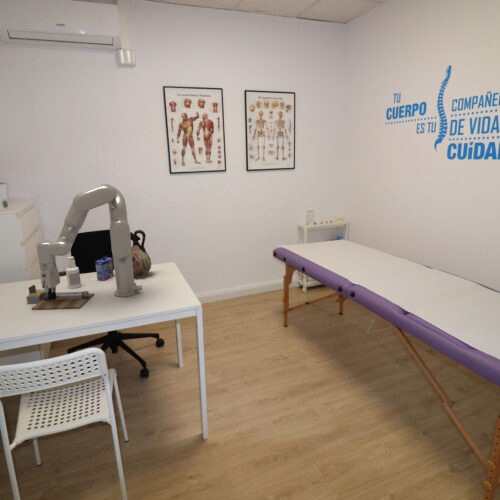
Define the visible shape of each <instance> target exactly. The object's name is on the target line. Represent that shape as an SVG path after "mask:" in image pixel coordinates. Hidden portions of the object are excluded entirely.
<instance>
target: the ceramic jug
mask: <svg viewBox="0 0 500 500" xmlns="http://www.w3.org/2000/svg"><path fill="white" fill-rule="evenodd" d="M138 234H140V235H142V239H141V237H140V236H139V235H138ZM130 238H131V242H132V244H131V256H132V264H133V274H134V279H136V278H137V279H139V278H140V277H141V278H145V277H146V276H148V275H149V274H148V273H149V271H150V270H151V268H152V260H151V257H150V255H149V253H148V252H147V250H146V248H145V241H146V233H145V231H144V230H141V229H137V230H134V232H133V231H130ZM139 241H141V243H140V242H139ZM144 276H145V277H144Z"/></svg>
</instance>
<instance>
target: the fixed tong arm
mask: <svg viewBox="0 0 500 500" xmlns="http://www.w3.org/2000/svg"><path fill="white" fill-rule="evenodd" d="M82 292H83V291H57V292H56V294H82ZM46 295H48V293H47V294H46Z"/></svg>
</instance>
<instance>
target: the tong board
mask: <svg viewBox="0 0 500 500" xmlns="http://www.w3.org/2000/svg"><path fill="white" fill-rule="evenodd" d="M88 293H89V298H86V299H80V300H47V301H43V300H42V301H40V302H39V303H38V304H35V305H33V306H32V307H31V311H37V310H39V311H40V310H41V311H42V310H43V311H44V310H77V309H81V308H82V307H84V306H85V304H86V303H88V302H89V301H90V300H91V299H92V298H93V297H94V296H95V293H93V292H92V293H90V292H88Z"/></svg>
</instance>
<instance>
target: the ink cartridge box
mask: <svg viewBox="0 0 500 500" xmlns="http://www.w3.org/2000/svg"><path fill="white" fill-rule="evenodd" d="M94 262H95V271H96V280H97V281H102V282H104V281H107V280H108V279H111V278H113V277H115V271H114V262H113V257H108V255H105V256H103V257H102V258H101V259H98V260H96V261H94Z"/></svg>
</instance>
